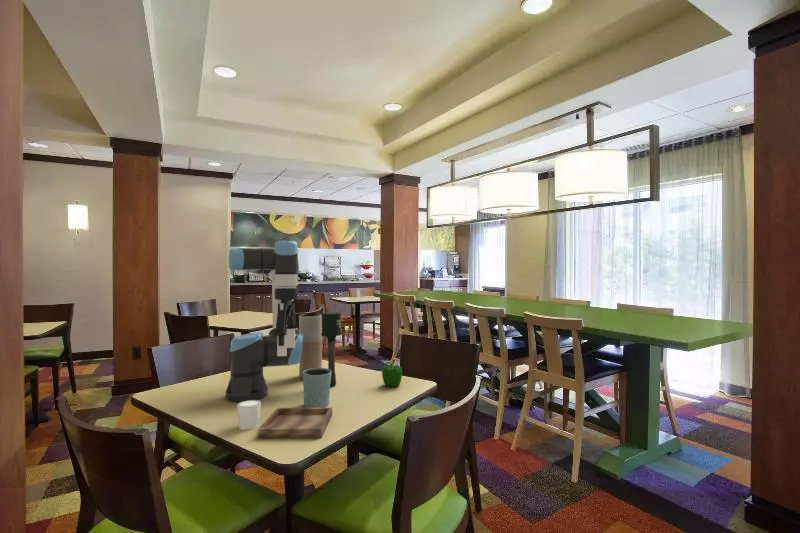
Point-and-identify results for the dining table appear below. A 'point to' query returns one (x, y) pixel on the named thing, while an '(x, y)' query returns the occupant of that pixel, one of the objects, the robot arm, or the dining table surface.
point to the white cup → (249, 414)
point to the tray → (296, 423)
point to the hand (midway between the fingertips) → (286, 351)
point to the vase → (310, 341)
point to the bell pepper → (391, 374)
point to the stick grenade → (331, 338)
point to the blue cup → (316, 387)
